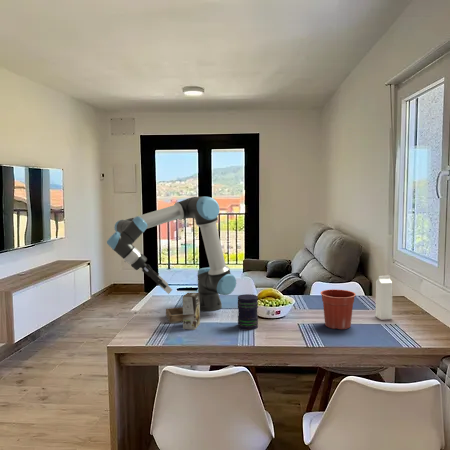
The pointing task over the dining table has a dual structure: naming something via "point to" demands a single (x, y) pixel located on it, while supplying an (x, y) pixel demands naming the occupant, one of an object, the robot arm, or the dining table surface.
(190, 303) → the coffee box
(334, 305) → the flower pot
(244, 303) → the storage jar
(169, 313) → the wooden tray
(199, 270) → the robot arm
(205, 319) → the dining table surface
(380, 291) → the milk
